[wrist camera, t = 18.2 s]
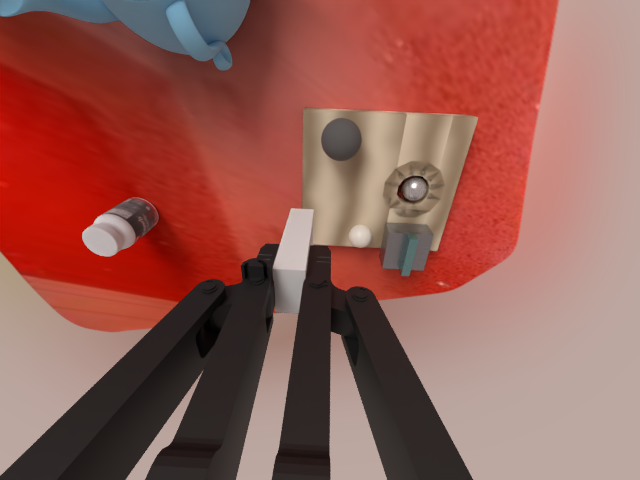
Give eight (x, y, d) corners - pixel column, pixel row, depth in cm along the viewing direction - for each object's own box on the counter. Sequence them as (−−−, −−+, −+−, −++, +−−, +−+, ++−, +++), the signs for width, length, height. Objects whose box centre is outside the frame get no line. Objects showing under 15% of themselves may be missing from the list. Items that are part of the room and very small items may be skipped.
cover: (379, 256, 46) (383, 274, 41) (385, 222, 42) (391, 238, 38) (417, 258, 45) (426, 277, 41) (427, 224, 42) (437, 240, 38)
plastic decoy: (347, 239, 44) (348, 251, 41) (349, 220, 43) (350, 231, 40) (368, 240, 44) (371, 252, 41) (371, 221, 42) (374, 232, 39)
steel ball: (395, 198, 42) (413, 205, 39) (398, 175, 40) (417, 180, 37) (410, 195, 43) (429, 201, 41) (414, 172, 42) (434, 177, 39)
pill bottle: (160, 230, 48) (123, 264, 39) (126, 222, 47) (81, 254, 39) (159, 201, 45) (119, 231, 36) (123, 191, 44) (74, 219, 36)
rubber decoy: (321, 154, 38) (319, 164, 33) (322, 114, 35) (321, 120, 31) (357, 156, 37) (360, 166, 33) (362, 116, 35) (366, 122, 31)
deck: (303, 236, 47) (302, 243, 45) (304, 107, 37) (303, 109, 35) (432, 242, 47) (437, 251, 45) (469, 114, 37) (478, 117, 34)
